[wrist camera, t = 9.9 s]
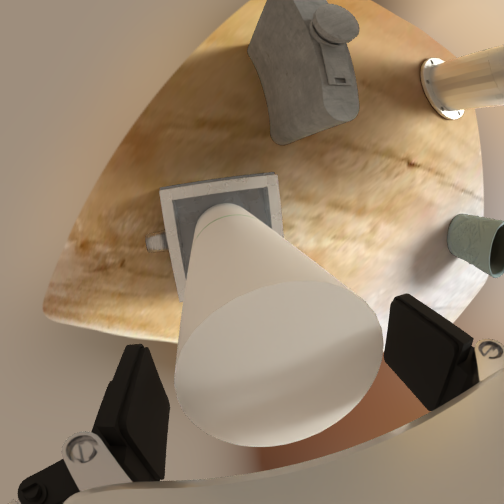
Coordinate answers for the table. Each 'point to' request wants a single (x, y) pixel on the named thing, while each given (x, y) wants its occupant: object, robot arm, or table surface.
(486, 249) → the green cup
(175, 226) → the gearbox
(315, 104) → the hip flask
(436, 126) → the table surface
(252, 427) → the cylindrical container
